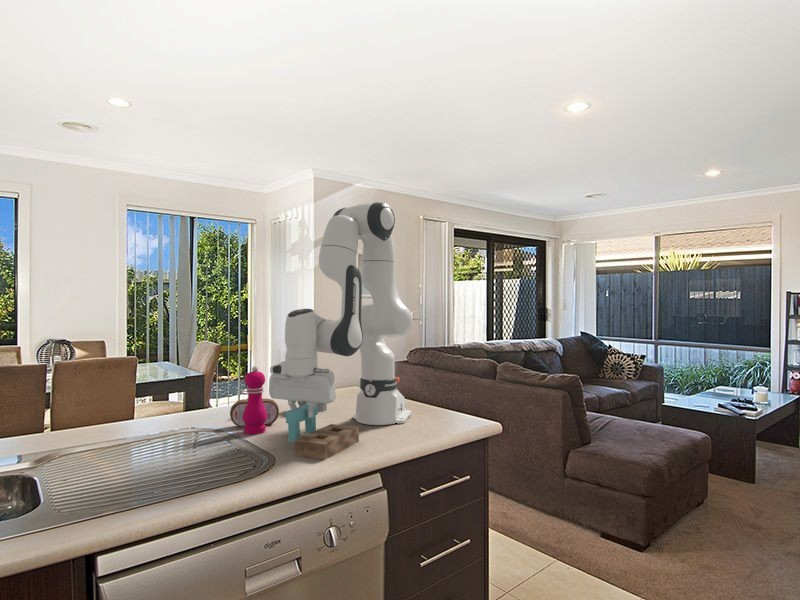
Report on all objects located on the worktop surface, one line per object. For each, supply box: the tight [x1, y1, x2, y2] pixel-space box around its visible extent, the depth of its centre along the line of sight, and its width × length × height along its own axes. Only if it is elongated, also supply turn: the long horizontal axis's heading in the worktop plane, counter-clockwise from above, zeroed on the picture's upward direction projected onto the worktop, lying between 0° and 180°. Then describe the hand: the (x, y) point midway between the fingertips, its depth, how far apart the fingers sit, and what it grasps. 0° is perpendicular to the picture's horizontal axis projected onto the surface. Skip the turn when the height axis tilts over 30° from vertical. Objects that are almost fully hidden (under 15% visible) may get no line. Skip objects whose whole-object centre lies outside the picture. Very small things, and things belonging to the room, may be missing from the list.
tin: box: [229, 398, 280, 428], centre depth 160 cm, size 15×3×8 cm, turn 108°
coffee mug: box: [296, 401, 328, 413], centre depth 181 cm, size 13×10×10 cm
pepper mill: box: [243, 365, 267, 435], centre depth 152 cm, size 7×7×20 cm
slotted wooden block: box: [294, 423, 360, 461], centre depth 136 cm, size 18×9×4 cm, turn 157°
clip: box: [285, 404, 319, 443], centre depth 140 cm, size 11×3×8 cm, turn 157°
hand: (302, 416), depth 140 cm, fingers closed on clip, 3 cm apart
